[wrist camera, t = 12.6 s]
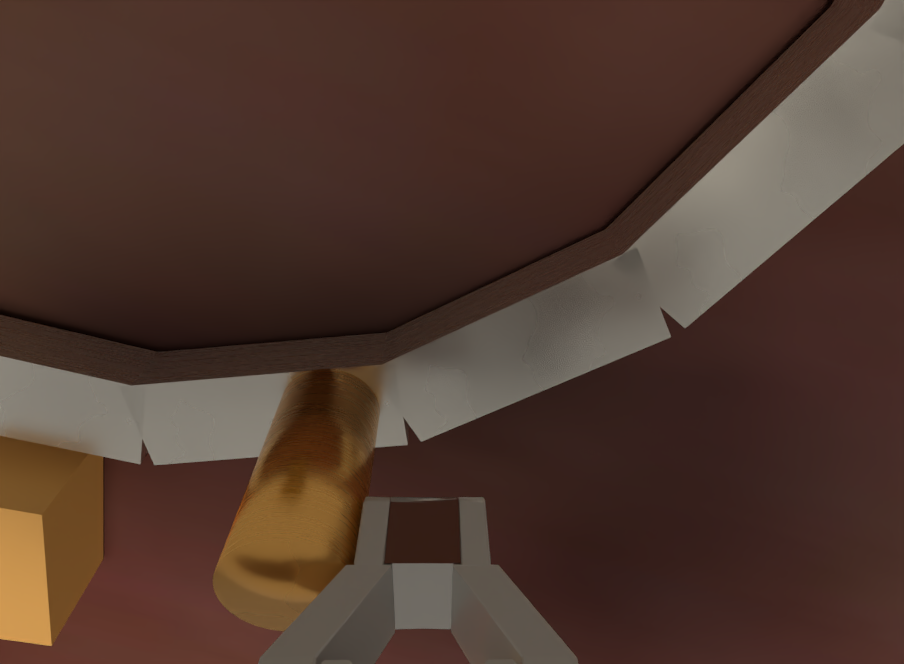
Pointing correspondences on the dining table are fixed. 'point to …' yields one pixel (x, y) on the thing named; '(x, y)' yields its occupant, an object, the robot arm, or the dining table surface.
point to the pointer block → (46, 536)
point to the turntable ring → (470, 324)
